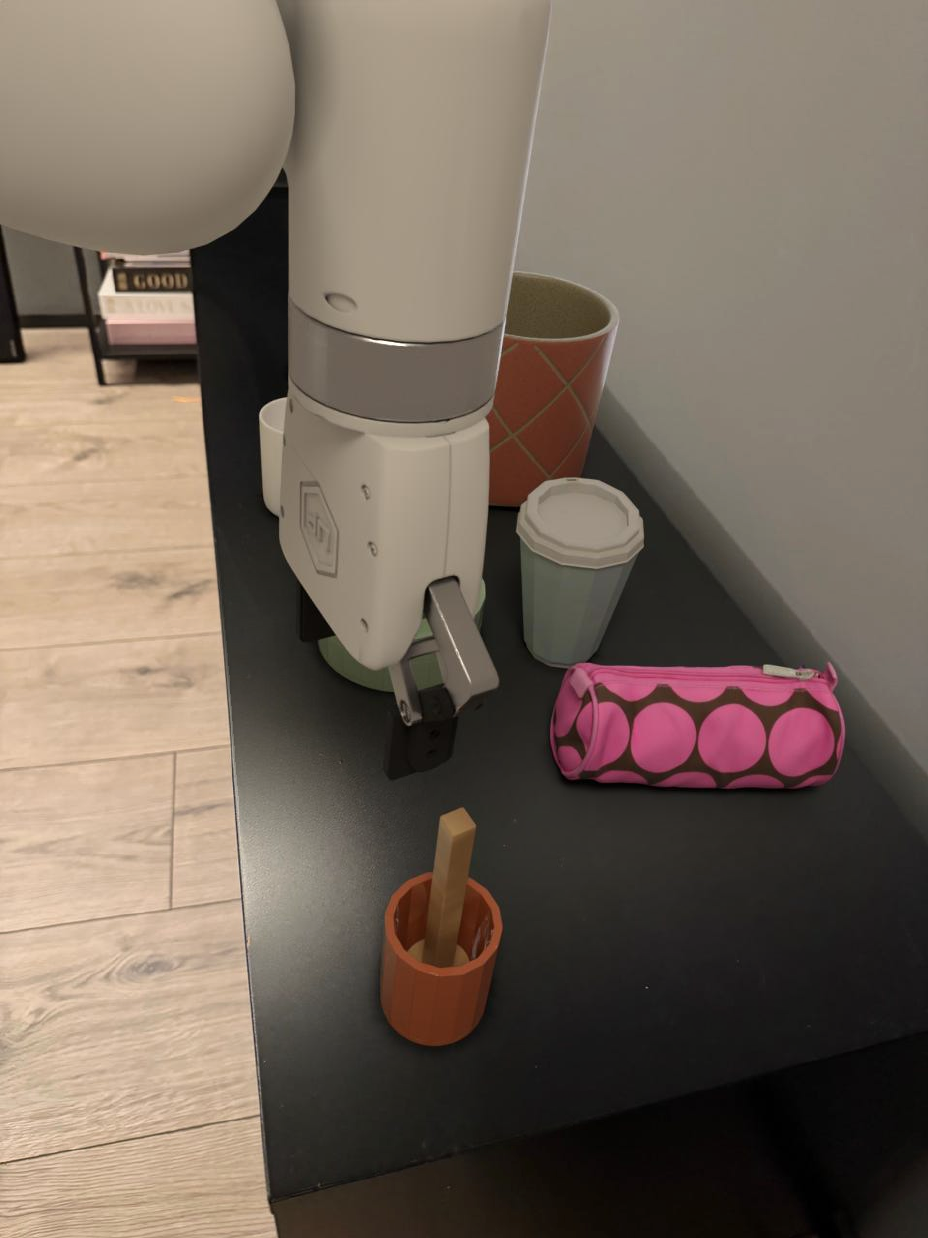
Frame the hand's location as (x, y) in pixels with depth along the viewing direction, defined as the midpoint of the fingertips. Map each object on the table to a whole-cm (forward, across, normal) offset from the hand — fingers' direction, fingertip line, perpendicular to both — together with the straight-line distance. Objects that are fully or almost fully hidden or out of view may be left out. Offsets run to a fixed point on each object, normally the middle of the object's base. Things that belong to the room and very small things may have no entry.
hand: (369, 695), depth 44 cm
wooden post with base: (+23, +4, +4) cm, 23 cm away
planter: (+23, -48, +41) cm, 67 cm away
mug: (+24, -50, +19) cm, 58 cm away
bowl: (+23, -27, +17) cm, 39 cm away
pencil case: (+23, -4, +31) cm, 38 cm away
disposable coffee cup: (+23, -20, +30) cm, 42 cm away
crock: (+23, +4, +4) cm, 24 cm away
